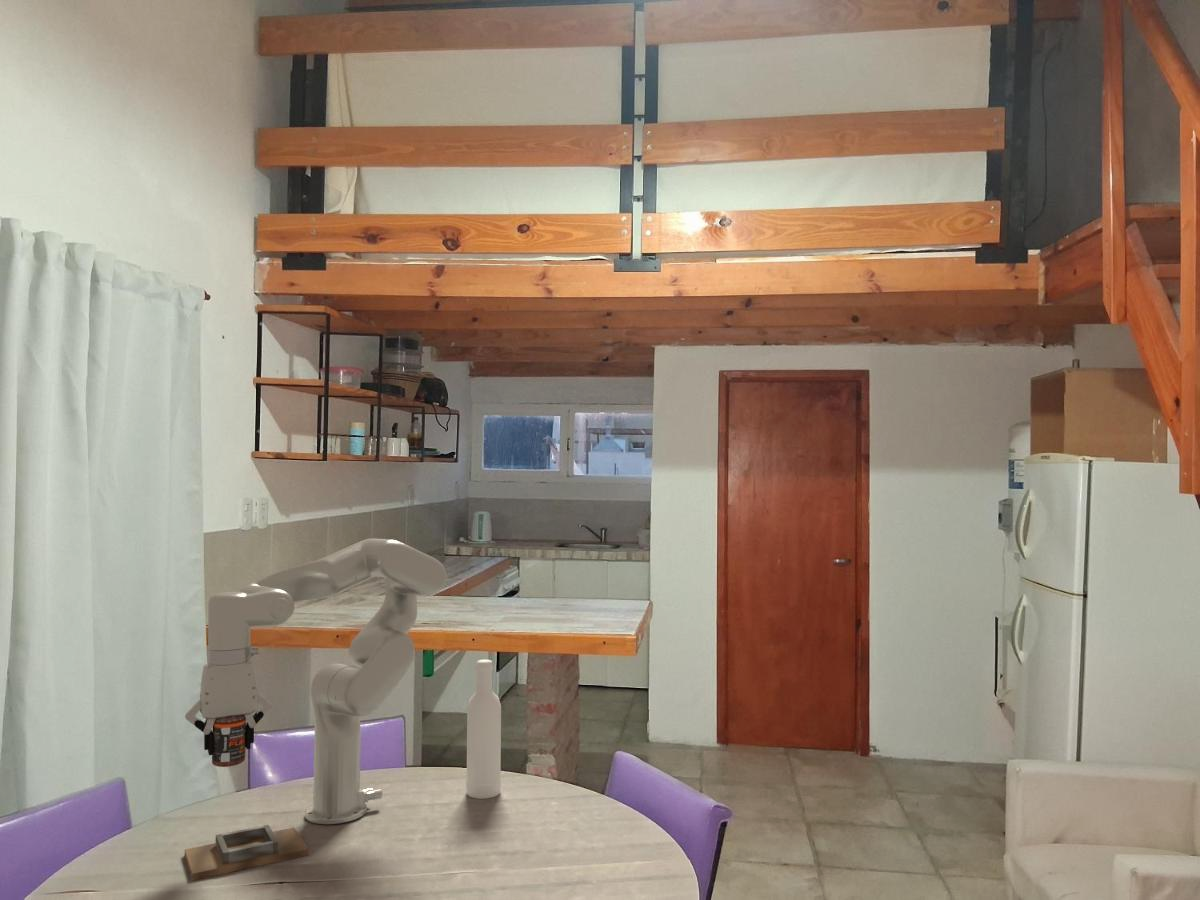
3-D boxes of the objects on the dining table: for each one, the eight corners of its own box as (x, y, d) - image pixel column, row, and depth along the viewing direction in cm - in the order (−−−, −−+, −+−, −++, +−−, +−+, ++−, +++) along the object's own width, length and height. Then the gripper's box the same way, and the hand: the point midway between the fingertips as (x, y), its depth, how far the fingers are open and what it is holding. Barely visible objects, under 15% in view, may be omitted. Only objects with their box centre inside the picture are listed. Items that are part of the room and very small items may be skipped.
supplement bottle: (231, 769, 160) (232, 708, 161) (204, 766, 162) (205, 707, 162) (252, 759, 166) (252, 700, 166) (226, 756, 167) (226, 699, 168)
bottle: (508, 793, 194) (508, 660, 196) (480, 802, 188) (482, 665, 190) (486, 784, 200) (487, 656, 201) (459, 793, 194) (460, 660, 195)
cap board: (294, 833, 171) (294, 817, 171) (308, 855, 161) (308, 837, 161) (184, 855, 160) (184, 838, 161) (192, 880, 150) (192, 862, 150)
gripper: (273, 648, 172) (273, 738, 171) (178, 658, 164) (178, 752, 163) (279, 655, 165) (279, 748, 165) (181, 665, 157) (180, 763, 156)
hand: (229, 749), depth 164 cm, fingers closed on supplement bottle, 6 cm apart
